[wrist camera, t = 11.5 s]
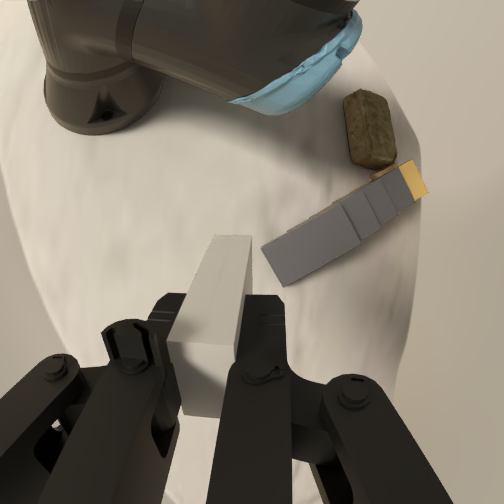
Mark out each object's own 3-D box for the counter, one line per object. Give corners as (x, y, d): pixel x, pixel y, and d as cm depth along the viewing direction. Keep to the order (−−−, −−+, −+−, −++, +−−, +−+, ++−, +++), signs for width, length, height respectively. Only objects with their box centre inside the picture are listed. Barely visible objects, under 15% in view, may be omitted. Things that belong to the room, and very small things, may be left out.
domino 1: (308, 270, 37) (381, 228, 35) (287, 232, 36) (362, 190, 35) (307, 267, 38) (377, 227, 37) (286, 231, 38) (358, 190, 36)
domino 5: (369, 226, 40) (428, 192, 38) (351, 192, 39) (412, 159, 38) (366, 225, 42) (424, 192, 40) (349, 192, 41) (408, 160, 39)
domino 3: (330, 254, 38) (398, 214, 36) (310, 218, 37) (379, 178, 36) (328, 252, 39) (393, 213, 38) (308, 217, 39) (375, 179, 37)
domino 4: (351, 238, 39) (415, 201, 37) (333, 203, 38) (398, 167, 37) (349, 236, 41) (411, 201, 39) (331, 202, 40) (394, 168, 38)
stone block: (349, 167, 42) (371, 156, 37) (338, 98, 43) (356, 82, 38) (379, 172, 44) (402, 162, 39) (368, 106, 45) (387, 93, 40)
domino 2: (283, 287, 35) (361, 243, 34) (260, 248, 35) (340, 203, 33) (282, 284, 37) (357, 241, 36) (261, 246, 36) (337, 203, 35)
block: (389, 212, 43) (402, 208, 40) (370, 175, 43) (383, 170, 40) (400, 204, 44) (413, 200, 41) (382, 168, 44) (395, 162, 41)
